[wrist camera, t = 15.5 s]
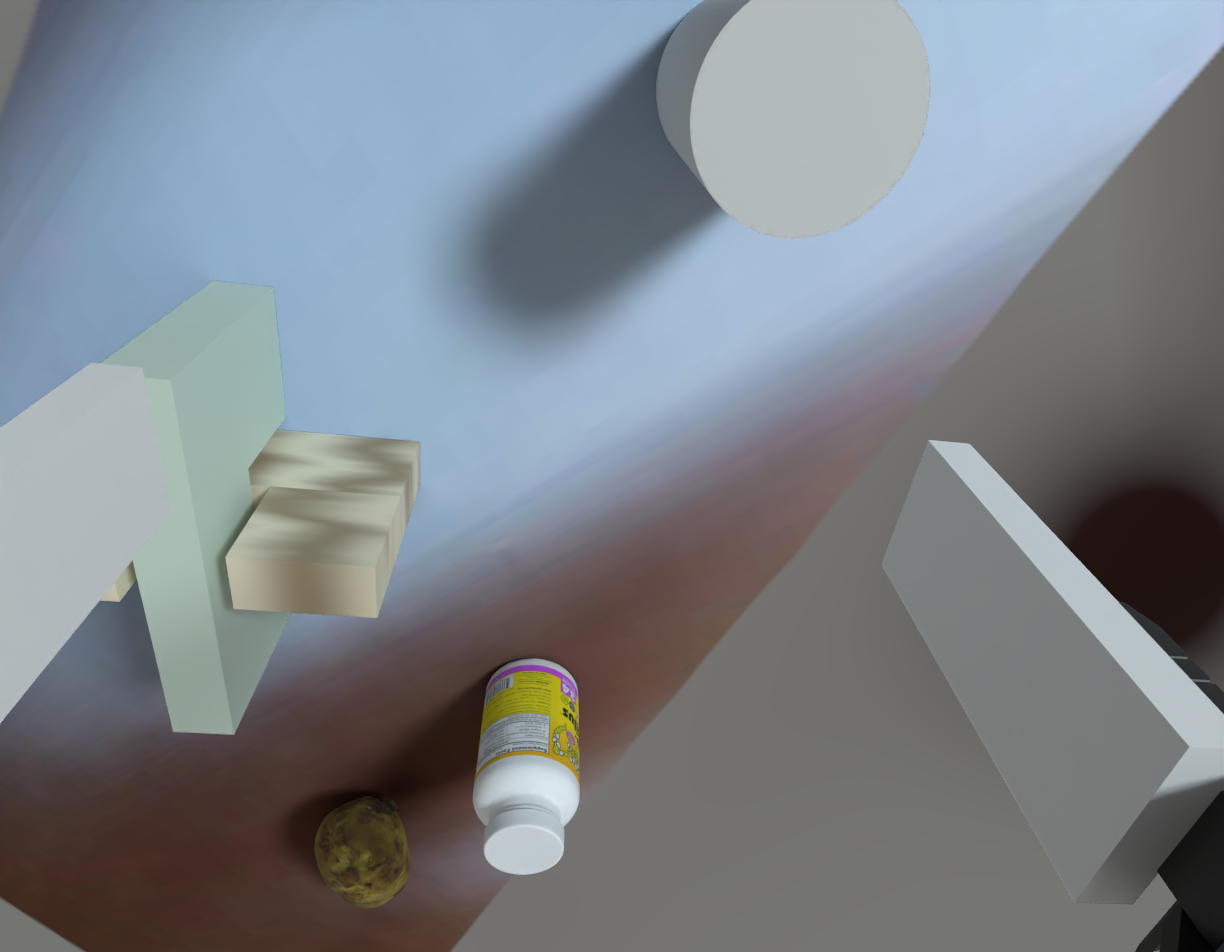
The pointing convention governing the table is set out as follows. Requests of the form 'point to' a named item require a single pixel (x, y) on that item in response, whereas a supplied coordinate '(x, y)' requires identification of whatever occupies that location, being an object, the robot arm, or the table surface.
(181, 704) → the sage slat
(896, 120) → the grey cylinder
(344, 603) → the notched wooden block
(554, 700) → the supplement bottle
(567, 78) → the table surface
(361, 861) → the potato
